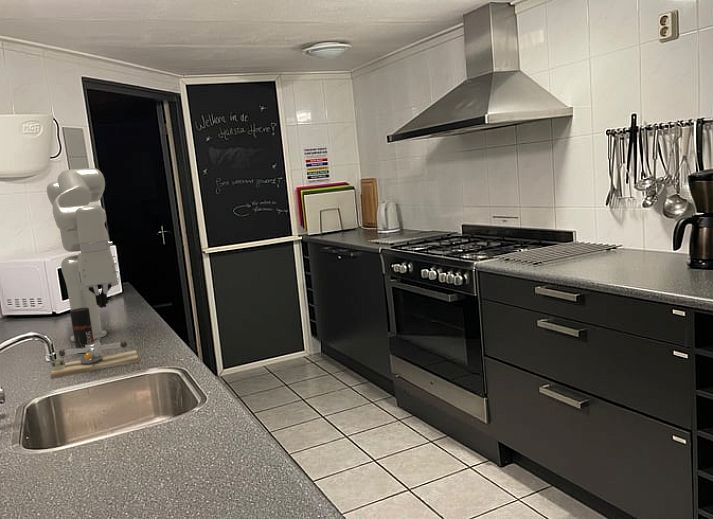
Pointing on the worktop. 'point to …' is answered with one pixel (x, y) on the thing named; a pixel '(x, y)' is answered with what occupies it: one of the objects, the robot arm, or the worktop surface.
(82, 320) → the deodorant
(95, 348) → the capstan
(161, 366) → the worktop surface
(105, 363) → the board
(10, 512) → the worktop surface
